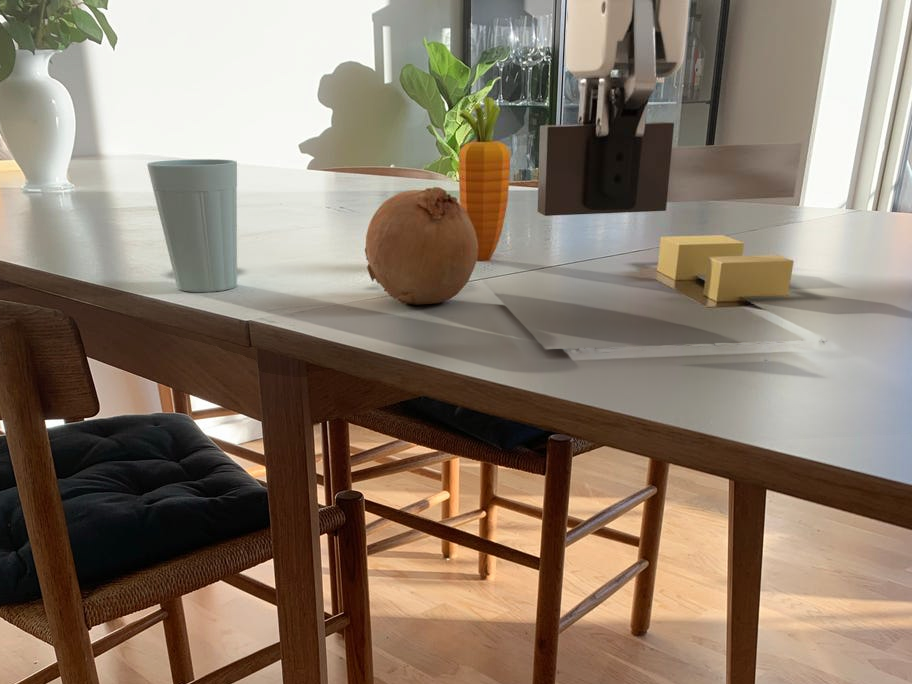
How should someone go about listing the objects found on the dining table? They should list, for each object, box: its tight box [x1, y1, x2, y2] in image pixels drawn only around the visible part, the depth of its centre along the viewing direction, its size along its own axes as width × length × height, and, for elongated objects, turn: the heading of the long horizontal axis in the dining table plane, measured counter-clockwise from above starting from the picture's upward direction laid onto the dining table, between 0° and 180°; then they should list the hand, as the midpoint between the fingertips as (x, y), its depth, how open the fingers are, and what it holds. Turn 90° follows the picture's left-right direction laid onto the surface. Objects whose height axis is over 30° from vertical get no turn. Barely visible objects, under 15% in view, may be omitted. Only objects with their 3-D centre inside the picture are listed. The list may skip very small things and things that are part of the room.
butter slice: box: [703, 254, 795, 302], centre depth 77 cm, size 6×3×3 cm, turn 97°
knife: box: [537, 121, 803, 217], centre depth 61 cm, size 17×2×5 cm, turn 97°
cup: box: [146, 158, 238, 293], centre depth 85 cm, size 8×8×10 cm
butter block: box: [657, 234, 745, 280], centre depth 86 cm, size 6×5×3 cm
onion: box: [364, 186, 478, 306], centre depth 79 cm, size 10×9×10 cm
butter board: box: [636, 267, 758, 308], centre depth 83 cm, size 9×18×1 cm, turn 7°
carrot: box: [458, 96, 511, 262], centre depth 92 cm, size 5×5×15 cm
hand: (603, 203), depth 61 cm, fingers closed on knife, 2 cm apart
